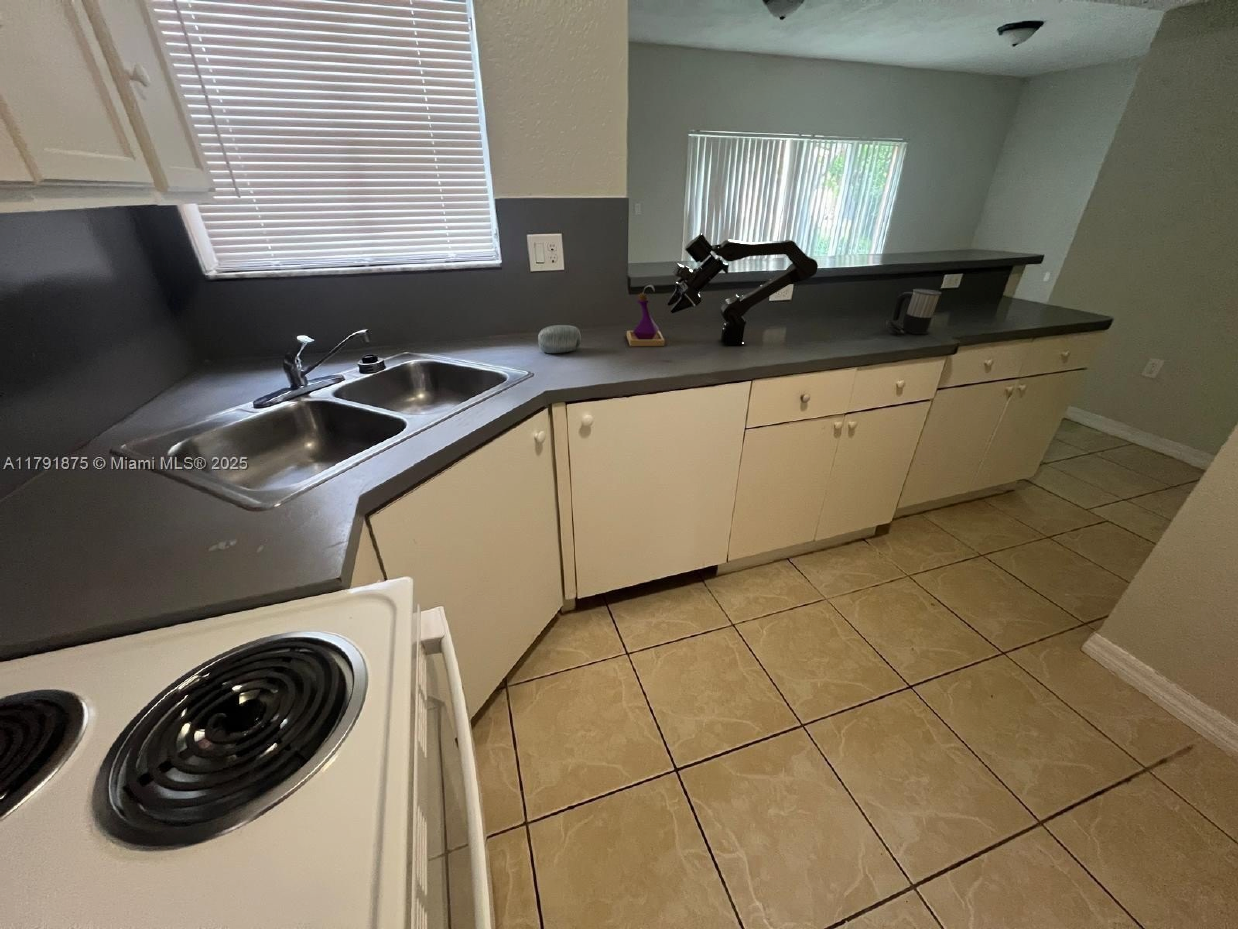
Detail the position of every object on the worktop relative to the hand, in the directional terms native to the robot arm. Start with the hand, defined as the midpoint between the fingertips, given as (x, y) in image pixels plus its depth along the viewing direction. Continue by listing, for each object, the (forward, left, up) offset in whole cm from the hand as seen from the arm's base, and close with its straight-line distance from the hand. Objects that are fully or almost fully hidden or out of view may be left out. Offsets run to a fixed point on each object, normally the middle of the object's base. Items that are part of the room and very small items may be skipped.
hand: (669, 308), depth 162 cm
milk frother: (-93, -10, -11) cm, 94 cm away
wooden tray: (+8, -1, -11) cm, 14 cm away
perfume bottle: (+7, -1, -11) cm, 13 cm away
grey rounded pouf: (+37, +10, -11) cm, 40 cm away
